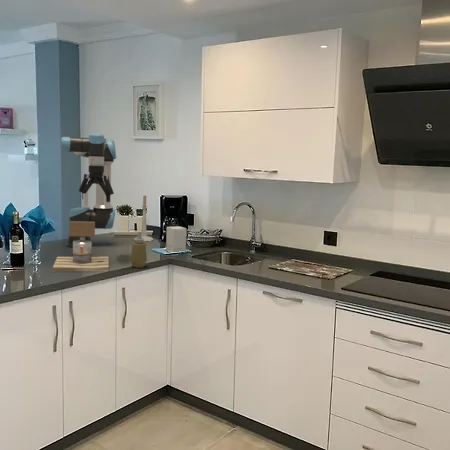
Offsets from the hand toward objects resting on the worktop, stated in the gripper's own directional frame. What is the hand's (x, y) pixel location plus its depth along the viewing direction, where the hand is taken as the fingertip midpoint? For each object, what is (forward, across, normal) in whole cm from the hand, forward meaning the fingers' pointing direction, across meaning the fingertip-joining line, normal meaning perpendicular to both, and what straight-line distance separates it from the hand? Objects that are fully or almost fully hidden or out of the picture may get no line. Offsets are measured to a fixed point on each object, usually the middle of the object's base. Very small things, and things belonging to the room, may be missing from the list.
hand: (95, 207), depth 260 cm
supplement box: (+29, +16, +52) cm, 62 cm away
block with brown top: (+23, -2, -7) cm, 24 cm away
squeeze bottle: (+30, +21, +8) cm, 37 cm away
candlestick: (+29, -22, +74) cm, 83 cm away
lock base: (+29, -3, -7) cm, 30 cm away
